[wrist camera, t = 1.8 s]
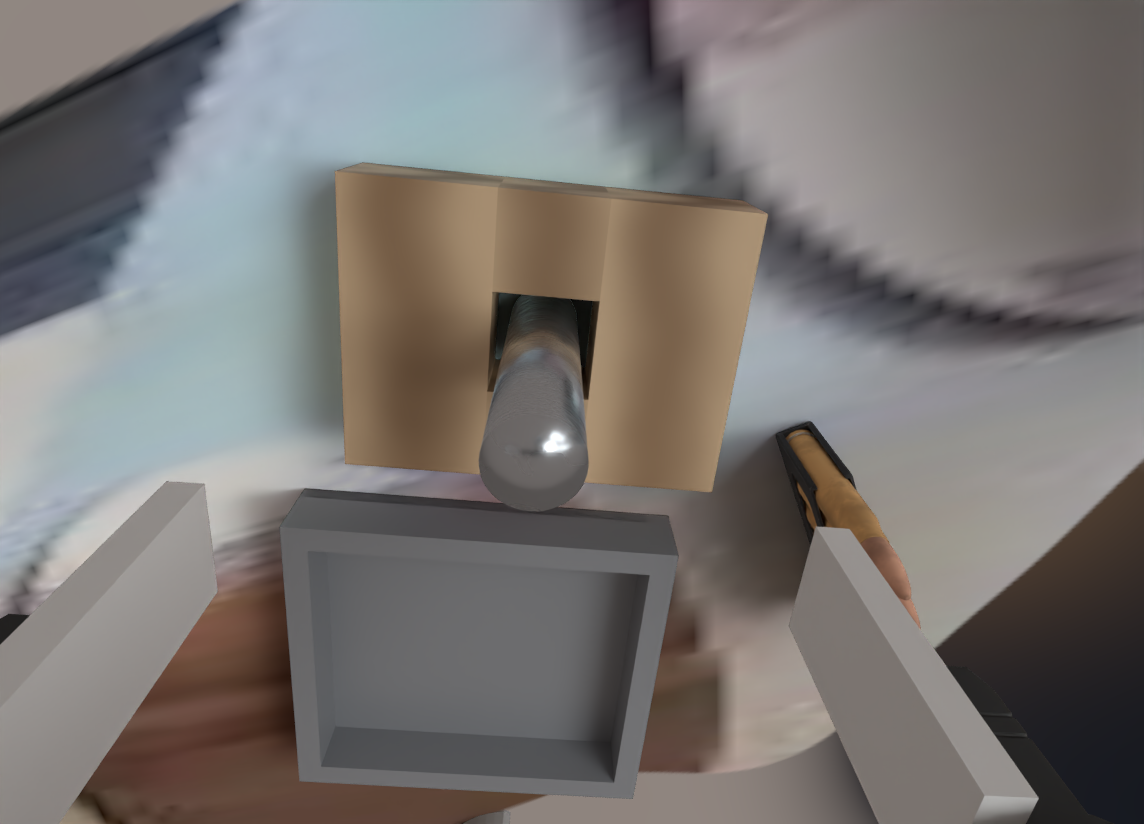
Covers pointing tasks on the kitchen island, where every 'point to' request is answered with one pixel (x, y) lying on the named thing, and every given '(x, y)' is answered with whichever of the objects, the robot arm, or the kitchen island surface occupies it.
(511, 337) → the pin
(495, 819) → the adjustable wrench
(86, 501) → the kitchen island surface
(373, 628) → the tray
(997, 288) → the kitchen island surface
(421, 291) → the tan board with hole
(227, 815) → the kitchen island surface
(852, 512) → the ammunition clip
